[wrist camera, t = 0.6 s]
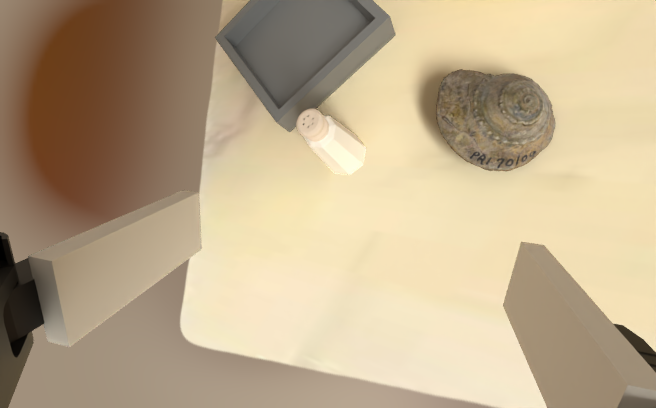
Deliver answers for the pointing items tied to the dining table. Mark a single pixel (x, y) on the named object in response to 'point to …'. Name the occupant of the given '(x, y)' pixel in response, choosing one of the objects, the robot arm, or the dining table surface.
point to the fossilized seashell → (494, 118)
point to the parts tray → (302, 49)
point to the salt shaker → (331, 141)
